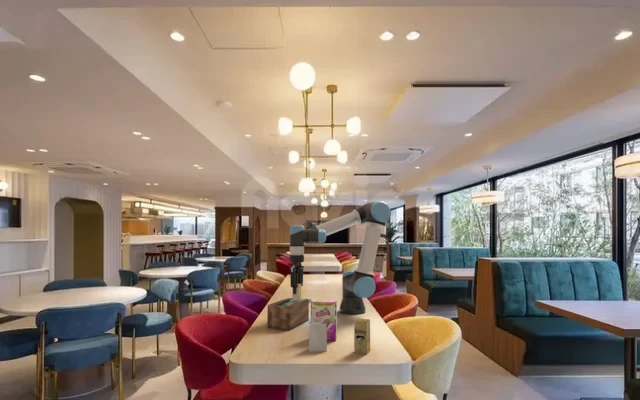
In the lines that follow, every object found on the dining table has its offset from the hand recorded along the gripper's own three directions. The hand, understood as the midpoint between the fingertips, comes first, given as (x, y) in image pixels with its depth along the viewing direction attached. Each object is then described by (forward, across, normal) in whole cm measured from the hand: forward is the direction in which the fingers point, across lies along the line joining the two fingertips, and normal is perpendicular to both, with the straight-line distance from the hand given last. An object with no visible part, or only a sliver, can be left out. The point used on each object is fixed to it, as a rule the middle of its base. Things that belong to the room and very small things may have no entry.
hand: (296, 299), depth 207 cm
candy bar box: (+11, +29, +26) cm, 40 cm away
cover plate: (+3, 0, 0) cm, 3 cm away
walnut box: (+11, +9, 0) cm, 14 cm away
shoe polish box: (+11, +41, +45) cm, 62 cm away
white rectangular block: (+11, +44, +28) cm, 54 cm away
